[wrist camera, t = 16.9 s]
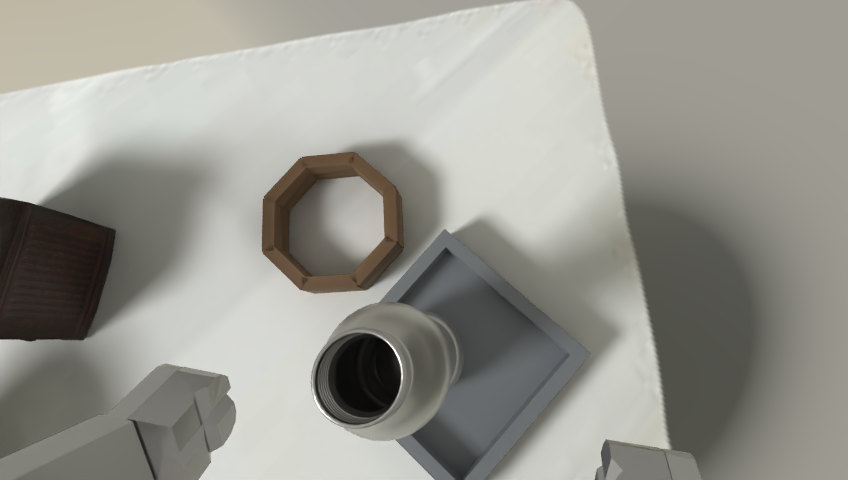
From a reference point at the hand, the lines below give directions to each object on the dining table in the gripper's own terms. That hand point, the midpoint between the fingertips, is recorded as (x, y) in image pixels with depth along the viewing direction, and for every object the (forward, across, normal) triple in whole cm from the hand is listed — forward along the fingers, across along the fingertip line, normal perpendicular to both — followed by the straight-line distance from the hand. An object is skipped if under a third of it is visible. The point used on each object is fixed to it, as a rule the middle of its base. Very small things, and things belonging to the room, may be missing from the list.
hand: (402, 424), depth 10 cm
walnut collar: (+28, +13, +9) cm, 32 cm away
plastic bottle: (+22, +4, +17) cm, 28 cm away
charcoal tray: (+22, +2, +17) cm, 28 cm away
